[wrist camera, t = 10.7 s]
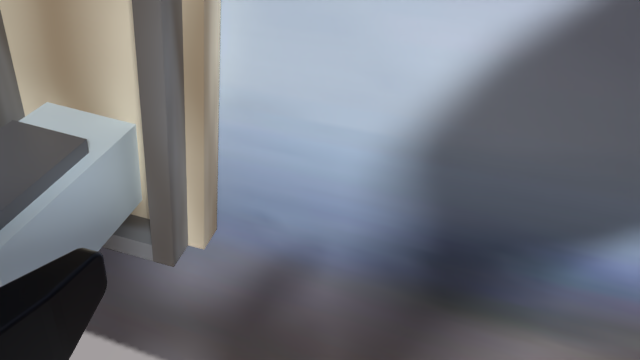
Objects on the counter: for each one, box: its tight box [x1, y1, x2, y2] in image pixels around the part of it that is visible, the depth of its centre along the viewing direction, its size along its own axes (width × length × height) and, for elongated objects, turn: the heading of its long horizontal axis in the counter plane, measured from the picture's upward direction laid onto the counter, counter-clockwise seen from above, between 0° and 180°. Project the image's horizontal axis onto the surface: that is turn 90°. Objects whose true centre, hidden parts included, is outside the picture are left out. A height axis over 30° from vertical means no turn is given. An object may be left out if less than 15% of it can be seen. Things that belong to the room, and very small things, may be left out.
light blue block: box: [0, 102, 142, 287], centre depth 19 cm, size 5×4×8 cm
